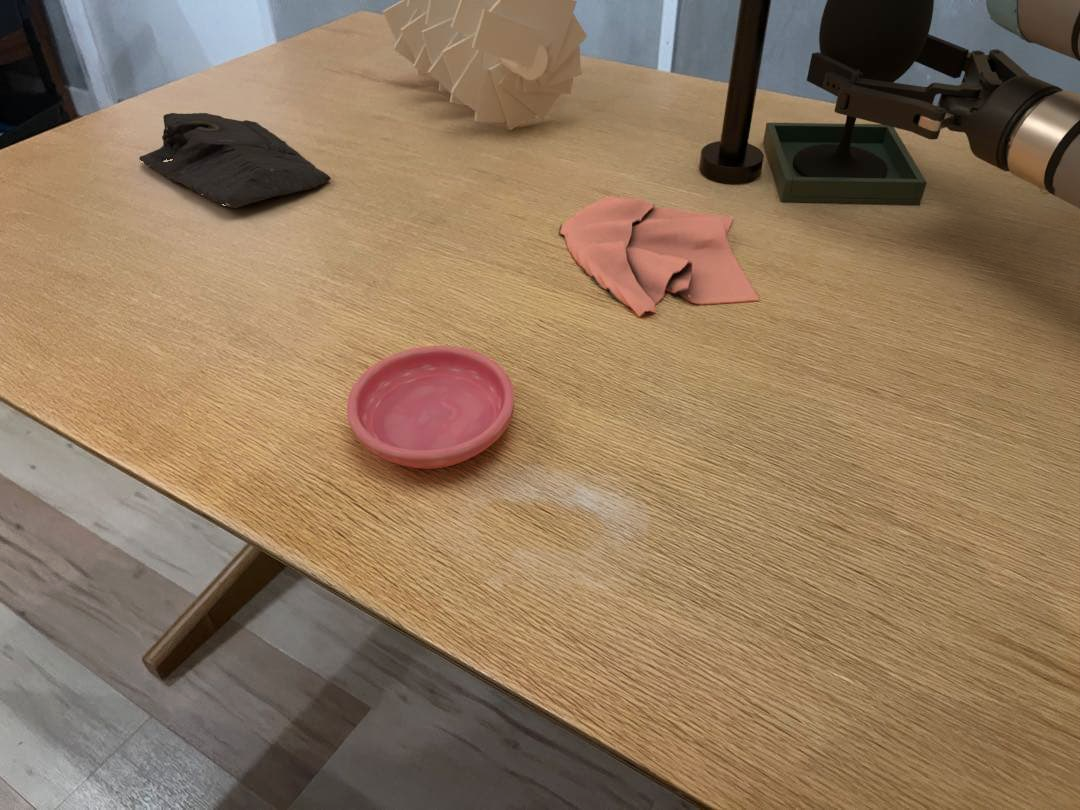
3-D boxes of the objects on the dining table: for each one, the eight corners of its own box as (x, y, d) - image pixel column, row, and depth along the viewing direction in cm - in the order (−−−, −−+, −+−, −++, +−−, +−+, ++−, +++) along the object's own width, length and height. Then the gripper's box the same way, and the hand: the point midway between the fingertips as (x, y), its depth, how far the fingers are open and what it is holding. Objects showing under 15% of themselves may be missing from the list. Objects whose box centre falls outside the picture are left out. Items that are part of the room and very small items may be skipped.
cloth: (595, 189, 91) (596, 169, 89) (793, 232, 84) (798, 211, 82) (510, 283, 77) (509, 261, 76) (737, 344, 70) (741, 321, 69)
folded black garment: (214, 231, 85) (201, 189, 82) (134, 161, 98) (120, 122, 94) (342, 184, 93) (334, 144, 89) (253, 124, 105) (243, 87, 102)
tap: (787, 157, 96) (858, -201, 73) (796, 185, 91) (877, -191, 68) (696, 156, 97) (740, -200, 74) (701, 183, 92) (749, -190, 69)
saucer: (534, 464, 60) (534, 433, 58) (364, 502, 57) (357, 471, 55) (493, 361, 69) (491, 331, 67) (344, 391, 66) (337, 360, 64)
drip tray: (886, 145, 98) (892, 124, 97) (919, 204, 88) (927, 182, 86) (762, 143, 99) (766, 122, 97) (780, 202, 88) (785, 179, 87)
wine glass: (906, 170, 92) (966, -24, 79) (848, 198, 88) (901, -3, 74) (831, 139, 98) (874, -46, 85) (773, 164, 94) (809, -28, 80)
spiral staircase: (476, 97, 121) (567, 152, 104) (366, 65, 110) (448, 121, 93) (516, -35, 113) (621, 1, 97) (402, -84, 103) (498, -52, 86)
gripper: (914, 204, 69) (760, 113, 84) (1114, 145, 77) (942, 71, 91) (942, 117, 64) (773, 36, 79) (1154, 63, 72) (965, -1, 86)
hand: (864, 55), depth 85 cm, fingers open, 13 cm apart
